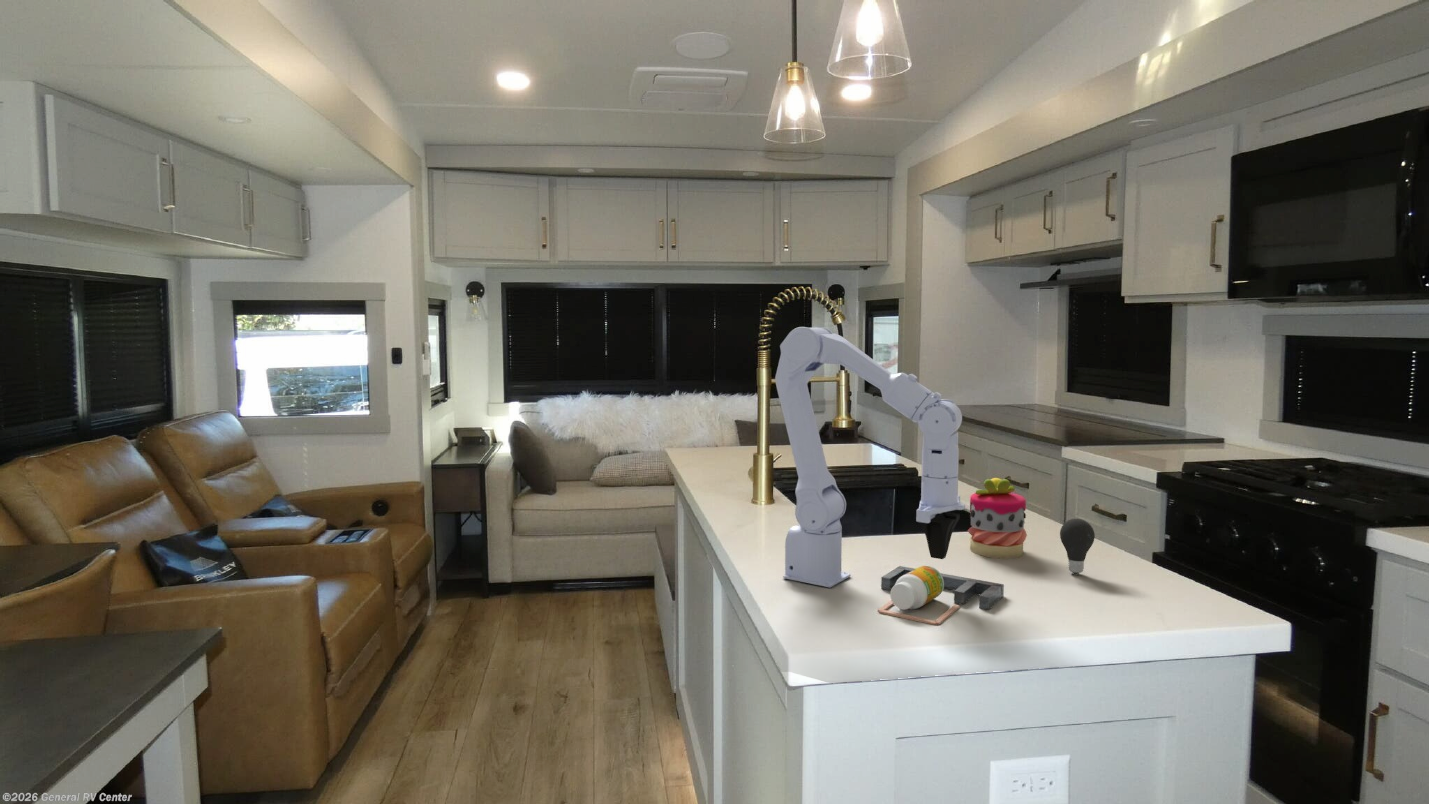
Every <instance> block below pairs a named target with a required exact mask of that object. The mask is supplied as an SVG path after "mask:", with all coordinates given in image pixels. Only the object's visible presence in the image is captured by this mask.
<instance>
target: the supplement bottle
mask: <svg viewBox="0 0 1429 804" xmlns="http://www.w3.org/2000/svg"><path fill="white" fill-rule="evenodd" d="M914 569H915V570H913V571H911V572H909V573H907V574H905V575H903V576H901V577H900V578H899V579H898V580H897V581H896V583H895V586H893V587H892V589H891V590H890V592H889V593H890V601H891V600H892V602H893V604H894V605H893V606H895V607H896V608H898V609H900V610H908V609H910V610H916V609H919V608H921V607H923V606H925V605H926V604H928V603H930V602H931V601H933V600H934V599H936V598H937V597H939V596H941V595H942V592H943V591H944V589H945V588H944V580H943V577H942V575H941V574H940V573H941V572H940V571H939V570H938V569H936V568H935V567H934V566H931V565H921V566H919V567H917V568H914Z"/></svg>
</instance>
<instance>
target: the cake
mask: <svg viewBox="0 0 1429 804" xmlns="http://www.w3.org/2000/svg"><path fill="white" fill-rule="evenodd" d="M983 486H984V488H985V489H977V490H975V492H974V493H973V494H971V495H970V499H969V513H970V514H969V518H970V526H971V527H969V529H968V530H967V532H968V534H969V535H971V536H970V543H969V544H970V545H969V548H970V549H969V550H970V552H971V553H973V554H975V555H979V556H982V557H987V558H991V559H992V558H994V559H1014V558H1020V557H1021V556H1023V555H1024V542H1025V541H1026V538H1027V536H1028V534H1027V531H1026V530H1025V523H1026V522H1025V519H1026V518H1027V514H1026V512H1025V511H1026V508H1027V507H1026V506H1027V504H1026V503H1027V501H1026V499H1025V497H1023V495H1020V494H1017V493H1014V491H1015V487H1014V486H1013V485H1011V482H1010V481H1009V480H1008V479H1006V478H1004V479H1001V478H998V477H993V478H991V479H985V481H983Z"/></svg>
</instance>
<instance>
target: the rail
mask: <svg viewBox="0 0 1429 804" xmlns="http://www.w3.org/2000/svg"><path fill="white" fill-rule="evenodd" d="M915 569H916V568H913V567H908V566H903V565H902V566H901V565H899V566H897V567H896V568H893V570H891V571H889V572H887V573H885V575H883V576H881V578H880V580H881V581H880V583H881V585H880V586H881V589H882V590H887V591H891V589H892V587H893V586H895V583H896V581H897V580H898V579H899V578H900V577H901V576H903V575H905V574H907V573H909V572H911V571H913V570H915ZM940 574H941V575H942V577H943V580H944V588H943V589H945V590H946V589H947V590H953V591H954V592H953V594H954V596H953V597H954V599H953V603H954V604H955V605H961V606H962V605H963V606H964V605H965V604H966V603H967V602H969V601H970V600H971V599H972V598H973V597H975V596H976V595H978V596H979V598H978V599H979V603H978V604H979V605H978V607H979V609H982V610H986V611H987V610H988V611H989V610H991V609H992V608H993V606H995V605H996V604H998V602H999V601H1000V600H1001V599H1003V597H1004V594H1005V589H1004V588H1005V585H1004V584H1002V583H996V582H994V581H993V582H992V581H987V580H980V579H976V578H972V577H969V578H968V577H964V576H959V575H958V576H957V575H953V574H948V573H941V572H940Z"/></svg>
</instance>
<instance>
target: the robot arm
mask: <svg viewBox="0 0 1429 804" xmlns="http://www.w3.org/2000/svg"><path fill="white" fill-rule="evenodd" d="M779 348H780V356H779V360H778V364H777V365H778V366H777V369H776V373H775V377H774V379H775V380H774V381H775V385H776V391H777V395H778V399H779V402H780V405H781V406H780V407H781V411H782V415H783V419H784V420H783V421H784V423H785V427H786V431H787V435H788V440H789V445H790V448H791V454H792V456H793V461H794V465H795V469H796V474H797V476H798V479H797V483H796V487H795V492H794V493H795V497H796V505H795V509H794V515H795V519H796V522H797V523H798V524H796V525H793V526H791V527H790V528H789V529H788V531H787V532H786V533H787V534H786V537H785V545H784V548H785V550H784V551H785V553H784V556H785V557H784V560H785V561H784V564H785V565H784V566H785V567H784V574H783V575H782V578H783V579H786V580H791V581H796V582H801V583H805V584H806V583H807V584H809V585H815V586H819V587H820V586H821V587H826V588H832V587H834V586H836V585H838V584H839V583H841V582H843V581H845V580H846V579H848V578H850V577H851V573H849V572H844V571H842V555H843V554H842V549H843V548H842V546H843V545H842V543H843V540H842V538H843V537H842V535H843V533H842V532H843V530H842V529H843V528H842V527H843V526H842V524H841V521H840V519H842V517H844V515H845V512H846V509H847V501H846V498H845V496H844V494H843V493H842V491H841V490H840V489H839V487H838V485H837V482H836V479H835V477H834V475H832V473H831V472H830V471H829V468H828V465H827V461H826V457H825V453H824V449H823V445H822V440H821V437H820V432H819V428H818V423H817V419H816V415H815V412H814V407H813V403H812V398H811V394H810V392H809V387H808V384H809V381H810V380H811V379H812V377H813V376H814V375H815V372H817V370H818V369H819V368H820V367H822V366H823V365H824V364H826V365H827V364H830V365H840V366H842V367H844V368H846V369H847V370H849V371H850V372H852V373H853V374H855V375H857V376H859V378H862V379H863V380H865V382H867V383H869V384H871V385H872V386H874V387H876V388H877V389H879V390H880V393H881V397H882V401H883V402H884V403H885V404H887V405H888V406H890V407H891V408H893V409H894V410H896V411H897V412H898V413H900V414H902V415H903V416H904V417H906V418H907V419H909V420H910V421H912V422H913V424H914V423H917V424H918V428H919V430H920V432H921V434H922V447H921V483H920V485H921V490H920V491H921V493H920V496H921V497H920V500H919V506H918V508H917V509H916V517H915V519H916V520H915V521H916V522H917V523H919V524H920V525H921V528H922V530H923V532H924V535H925V538H926V542H927V547H928V552H929V556H930V558H933V559H939V560H944V559H946V556H947V554H948V550H949V546H950V542H951V538H952V535H953V533H954V529H955V528H956V525H957V524H958V522H959V520H960V518H961V515H960V513H957V512H952V511H963V510H964V509H965V507H966V504H965V503H961V495H960V494H958V493H959V455H960V454H959V453H960V451H959V450H960V449H959V432H957V431H959V430H958V429H960V426H961V425H962V422H963V413H962V411H961V409H960V407H959V406H957V404H955V402H954V401H953V400H951V399H947V398H946V399H943V398H942V396H943V395H942V394H941V393H939V391H935V392H933V391H932V390H930V389H929V388H928V387H925V386H924V385H923V384H921V383H920V382H918V381H917V380H918V377H917V376H916V375H915V374H914V373H910V374H907V373H906V372H897V373H892V372H890V371H889V370H888V369H886V368H885V367H883V366H882V365H881V364H879V363H878V362H877V361H876V360H875V359H873V358H871V356H869V355H868V354H866V353H865V352H863V351H862V350H861V349H860V348H858V347H857V346H855V345H854V344H853V343H852V342H850V341H848V340H847V339H846V338H845V337H843V336H842V335H839V334H838V333H833V332H832V330H831V329H829V328H827V327H824V326H815V327H806V326H799V327H796V328H794V329H792V330H791V331H790V332H789V333H788V334H787V336H786V337H785V338H784V340H783V341H782V342H781V343H780V345H779ZM941 398H942V399H941Z"/></svg>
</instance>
